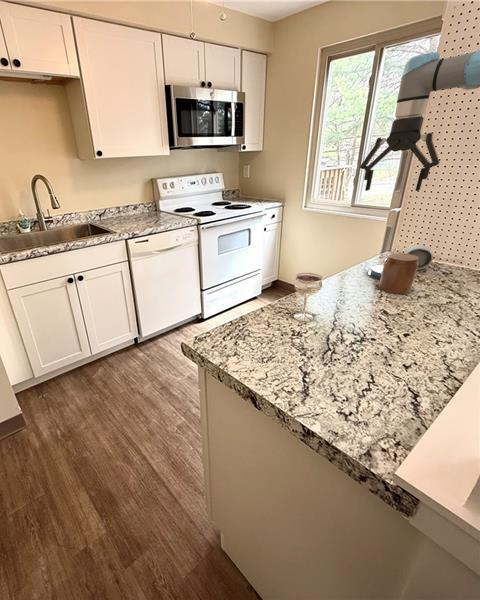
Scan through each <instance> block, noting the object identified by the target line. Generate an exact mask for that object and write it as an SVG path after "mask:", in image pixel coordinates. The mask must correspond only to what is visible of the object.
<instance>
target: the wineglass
mask: <svg viewBox="0 0 480 600" xmlns="http://www.w3.org/2000/svg"><path fill="white" fill-rule="evenodd" d="M294 277H295V280H294V282H293V287H294V290H295V291H296V292H297V293H298V294H299V295H301V296H303V298H304V299H303V301H304V302H303V308H302V309H303V310H302V312H295V313H294V314H293V318H294V319H295V320H297V321H300V322H311V321H312V320H313V319H314V316H313V315H311V314H310V313H306V309H307V303H308V298H309V297H311V296H315V295H317V294H318V293H320V291H321V290H322V289H323V280H324V276H323V275H321V274H319V273H314V272H300V273H297V274H295V275H294Z"/></svg>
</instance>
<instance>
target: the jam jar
mask: <svg viewBox="0 0 480 600" xmlns="http://www.w3.org/2000/svg"><path fill="white" fill-rule="evenodd" d="M418 260H419V259H418V257H417V256H415V255H411V254H405V252H392V253H389V254H387V257H386V258H385V259H384V262H383V265H384V266H383V270H382V274H381V278H380V280H379V283H378V286H377V287H378V289H379V290H381V291H383V292H386V293H389V294H395V295H404V294H409V293H410V292H411V291H412V288H413V284H414V281H415V277H416V274H417V271H418V270H417V268H418V264H419V263H418V262H417V261H418Z"/></svg>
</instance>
